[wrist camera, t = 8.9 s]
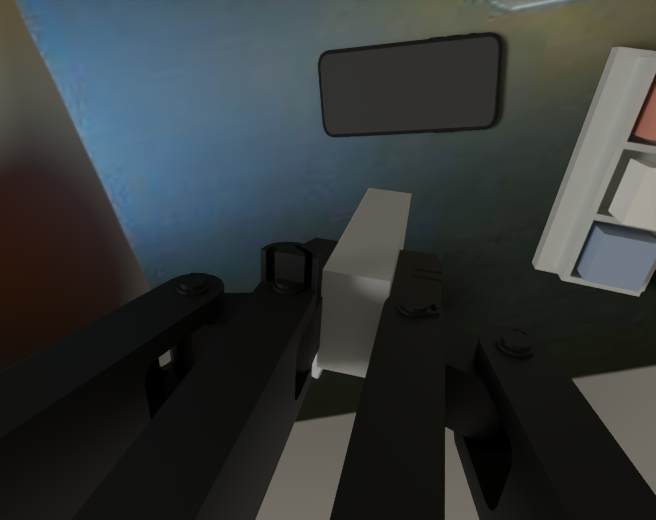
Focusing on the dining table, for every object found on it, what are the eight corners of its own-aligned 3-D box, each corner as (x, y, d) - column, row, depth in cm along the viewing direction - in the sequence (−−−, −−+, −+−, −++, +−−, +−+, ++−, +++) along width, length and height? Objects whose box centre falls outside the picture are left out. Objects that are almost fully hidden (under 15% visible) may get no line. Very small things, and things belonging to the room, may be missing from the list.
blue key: (592, 221, 35) (604, 233, 32) (645, 231, 34) (662, 245, 32) (573, 264, 37) (583, 280, 34) (624, 275, 36) (638, 292, 33)
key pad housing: (612, 47, 32) (632, 45, 29) (747, 64, 31) (787, 64, 27) (532, 262, 40) (540, 281, 37) (636, 283, 39) (656, 306, 35)
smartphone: (315, 50, 37) (503, 29, 33) (318, 50, 38) (502, 30, 34) (323, 139, 40) (497, 129, 36) (325, 137, 41) (496, 128, 37)
